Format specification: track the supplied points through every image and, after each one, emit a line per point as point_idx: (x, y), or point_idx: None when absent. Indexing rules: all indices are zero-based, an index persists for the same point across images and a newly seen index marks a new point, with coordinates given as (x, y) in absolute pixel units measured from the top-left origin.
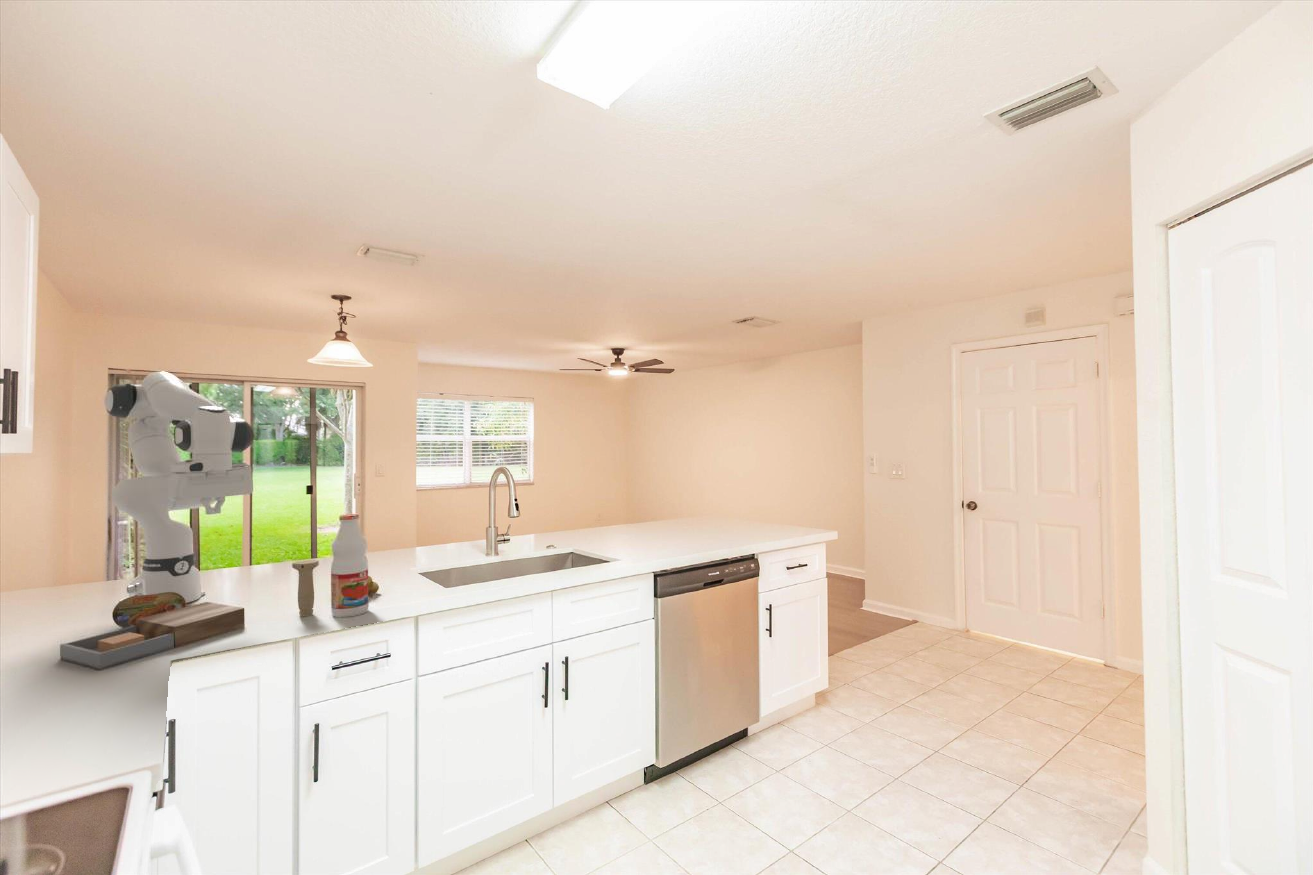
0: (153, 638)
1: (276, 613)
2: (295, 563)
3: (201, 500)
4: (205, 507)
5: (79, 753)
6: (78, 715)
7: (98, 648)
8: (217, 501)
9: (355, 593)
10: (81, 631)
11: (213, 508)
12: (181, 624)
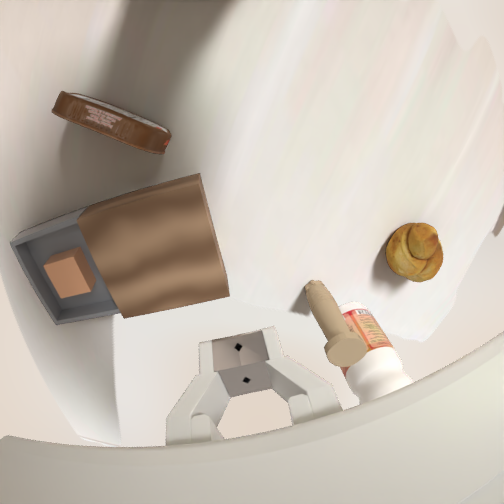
0: (101, 313)
1: (295, 239)
2: (331, 354)
3: (170, 437)
4: (197, 384)
5: (89, 424)
6: (74, 390)
7: (48, 259)
8: (300, 390)
9: None
10: (40, 72)
11: (239, 390)
12: (132, 313)
